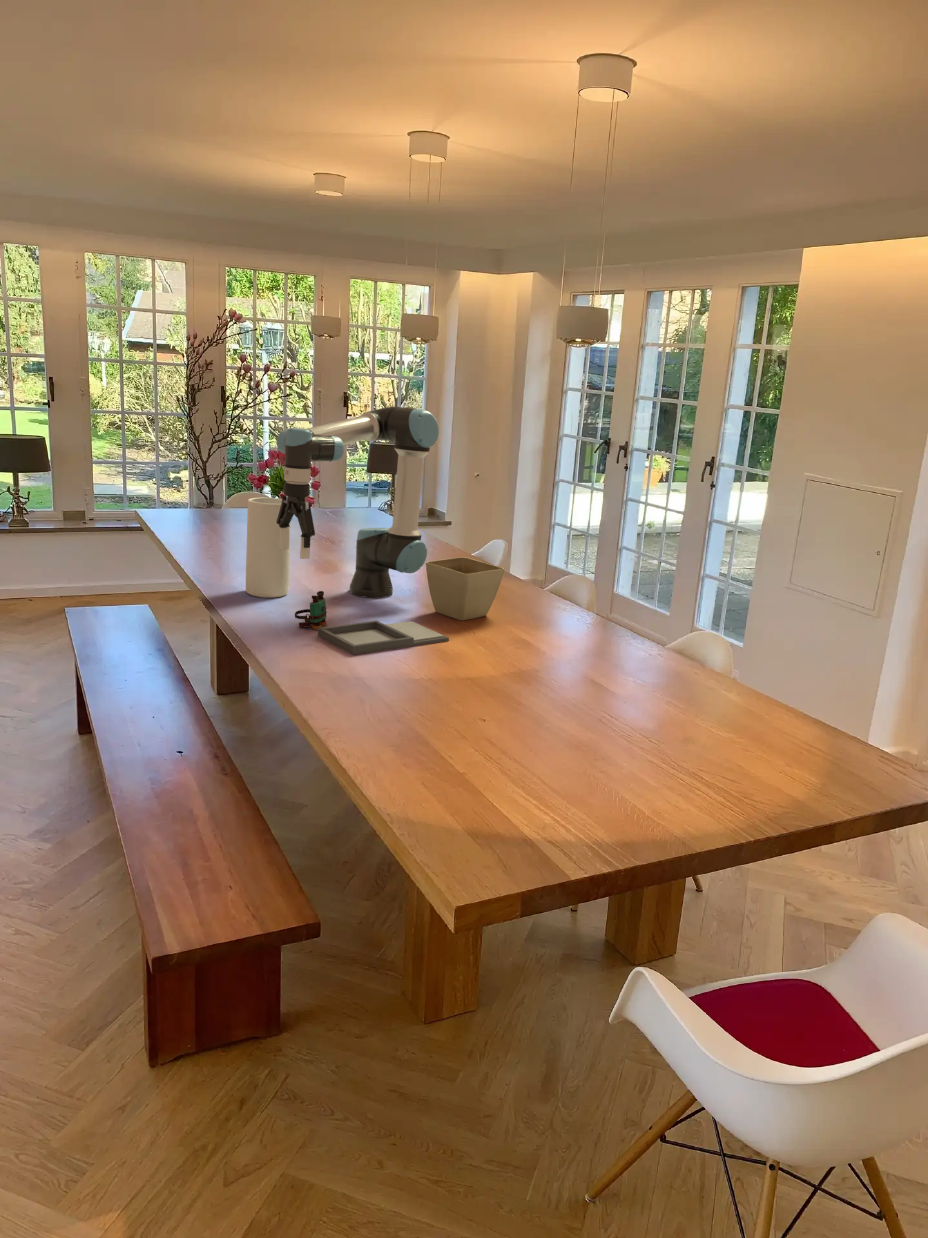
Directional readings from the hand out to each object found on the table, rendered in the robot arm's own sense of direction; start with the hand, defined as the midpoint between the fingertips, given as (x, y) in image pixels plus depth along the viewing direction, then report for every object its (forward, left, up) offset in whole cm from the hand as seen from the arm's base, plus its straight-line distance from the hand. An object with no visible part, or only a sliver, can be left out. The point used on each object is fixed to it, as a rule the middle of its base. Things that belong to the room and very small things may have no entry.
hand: (294, 553), depth 270 cm
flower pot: (-56, +12, -22) cm, 62 cm away
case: (-17, +25, -21) cm, 37 cm away
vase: (-9, -35, -22) cm, 42 cm away
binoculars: (-3, +5, -22) cm, 23 cm away
